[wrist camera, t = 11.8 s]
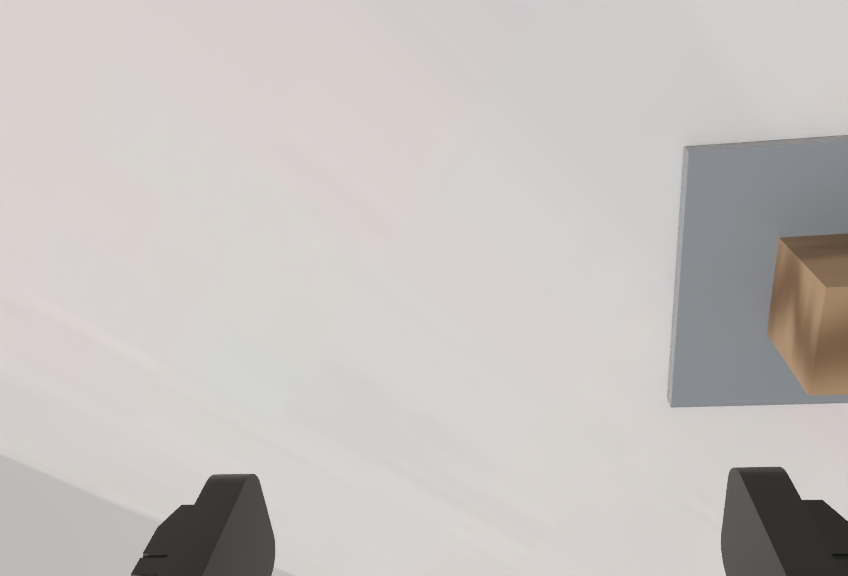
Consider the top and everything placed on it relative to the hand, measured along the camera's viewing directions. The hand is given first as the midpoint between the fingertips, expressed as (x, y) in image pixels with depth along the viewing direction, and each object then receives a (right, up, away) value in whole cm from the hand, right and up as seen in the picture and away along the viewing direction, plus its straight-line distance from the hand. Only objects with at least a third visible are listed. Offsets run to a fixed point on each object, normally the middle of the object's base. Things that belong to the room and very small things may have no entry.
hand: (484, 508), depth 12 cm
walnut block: (+21, +4, +26) cm, 34 cm away
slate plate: (+21, +4, +27) cm, 35 cm away
